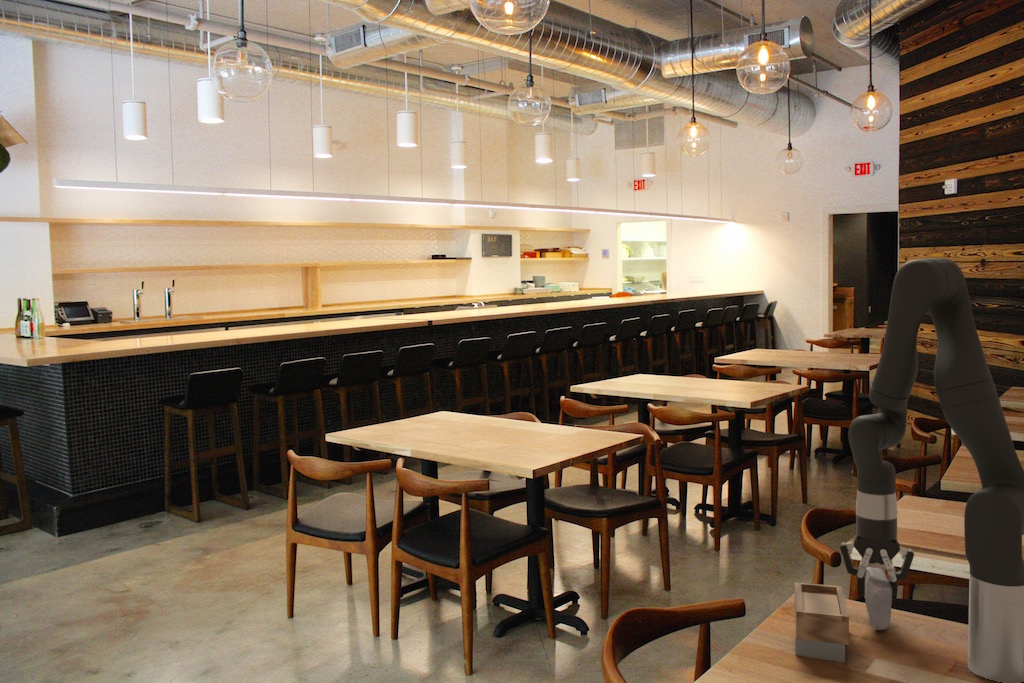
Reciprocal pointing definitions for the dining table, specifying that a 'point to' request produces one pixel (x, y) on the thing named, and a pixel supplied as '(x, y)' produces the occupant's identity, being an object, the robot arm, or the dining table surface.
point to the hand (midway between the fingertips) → (876, 596)
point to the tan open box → (821, 613)
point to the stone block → (878, 598)
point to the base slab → (820, 650)
